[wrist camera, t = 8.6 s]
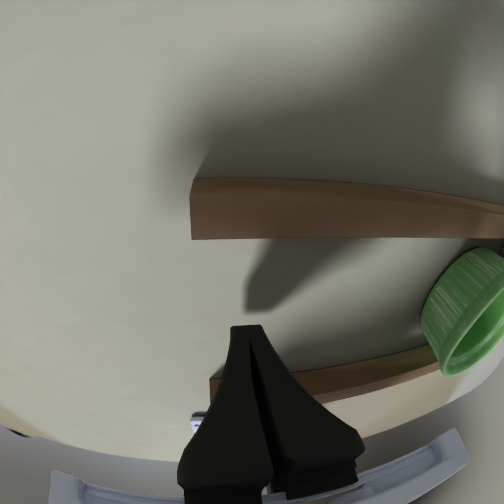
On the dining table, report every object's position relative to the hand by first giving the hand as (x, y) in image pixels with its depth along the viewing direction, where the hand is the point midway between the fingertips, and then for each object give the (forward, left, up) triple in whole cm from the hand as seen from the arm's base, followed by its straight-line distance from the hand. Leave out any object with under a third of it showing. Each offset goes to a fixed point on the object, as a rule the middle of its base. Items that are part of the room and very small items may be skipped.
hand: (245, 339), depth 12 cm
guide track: (0, -10, -2) cm, 10 cm away
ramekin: (0, -16, -2) cm, 16 cm away
